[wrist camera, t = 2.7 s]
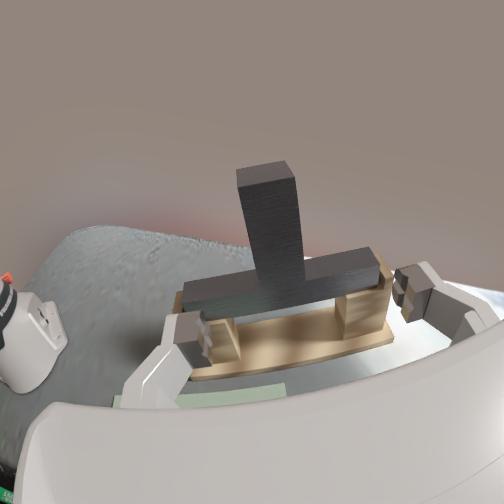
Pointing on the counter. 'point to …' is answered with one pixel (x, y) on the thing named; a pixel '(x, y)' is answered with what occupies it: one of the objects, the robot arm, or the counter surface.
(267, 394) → the mat
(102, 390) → the counter surface
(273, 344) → the stand
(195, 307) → the grey inverted t block
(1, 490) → the supplement bottle
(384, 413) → the robot arm
